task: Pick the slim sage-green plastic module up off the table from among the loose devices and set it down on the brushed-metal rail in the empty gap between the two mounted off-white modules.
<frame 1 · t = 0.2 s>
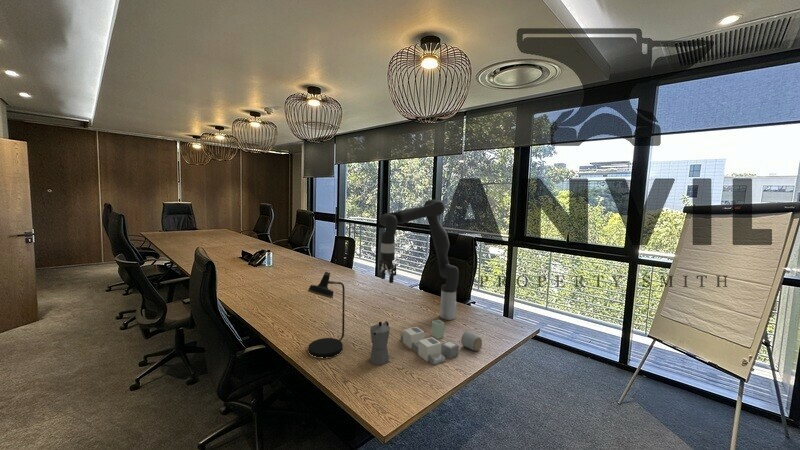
hand: (387, 280, 169), 29 cm above the table, fingers open, 8 cm apart
coffeepot: (380, 359, 144), on the table
module: (437, 336, 169), on the table
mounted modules: (421, 349, 153), resting on rail
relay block: (449, 354, 150), on the table
rail: (421, 349, 153), on the table
ceramic mug: (472, 347, 158), on the table
lamp: (328, 349, 152), on the table
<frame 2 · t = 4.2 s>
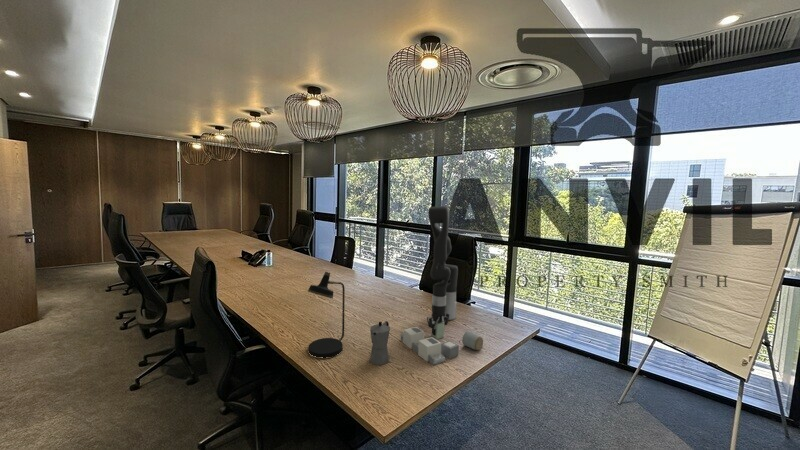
hand: (437, 333, 169), 1 cm above the table, fingers closed on module, 4 cm apart
module: (437, 336, 169), on the table, touching gripper
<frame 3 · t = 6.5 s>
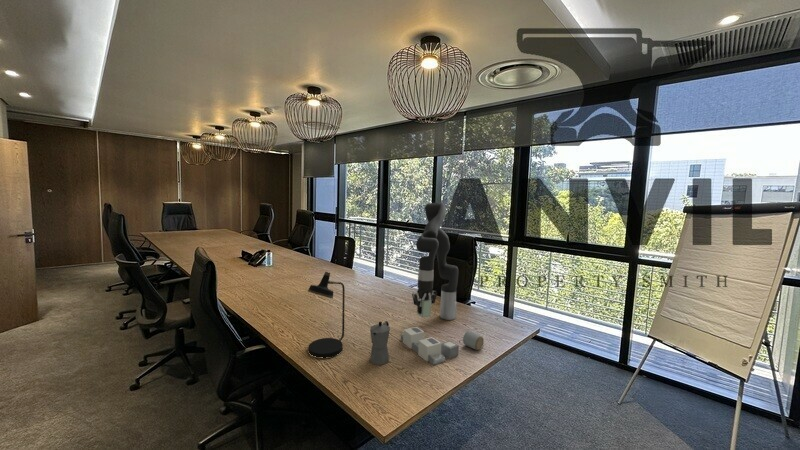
hand: (423, 312, 153), 18 cm above the table, fingers closed on module, 4 cm apart
module: (423, 315, 153), point 17 cm above the table, touching gripper
when the fingers open (5 cm above the table, at t = 8.9 s): module drops 1 cm, resting on rail.
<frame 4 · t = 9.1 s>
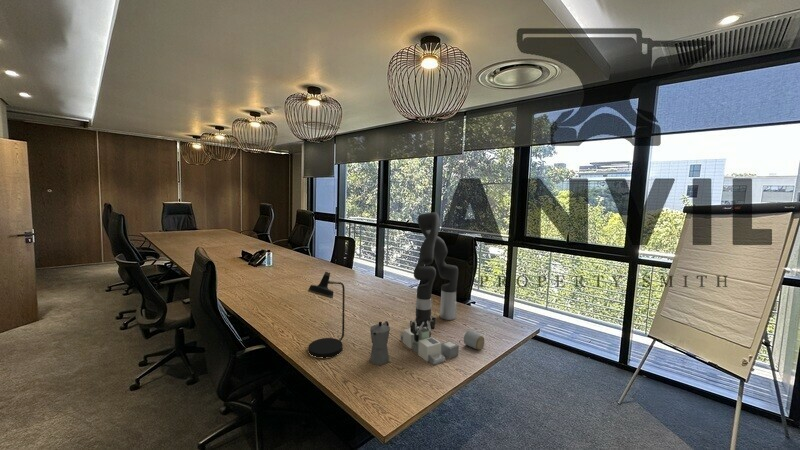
hand: (422, 339, 153), 5 cm above the table, fingers open, 6 cm apart
module: (422, 345, 154), point 2 cm above the table, touching rail
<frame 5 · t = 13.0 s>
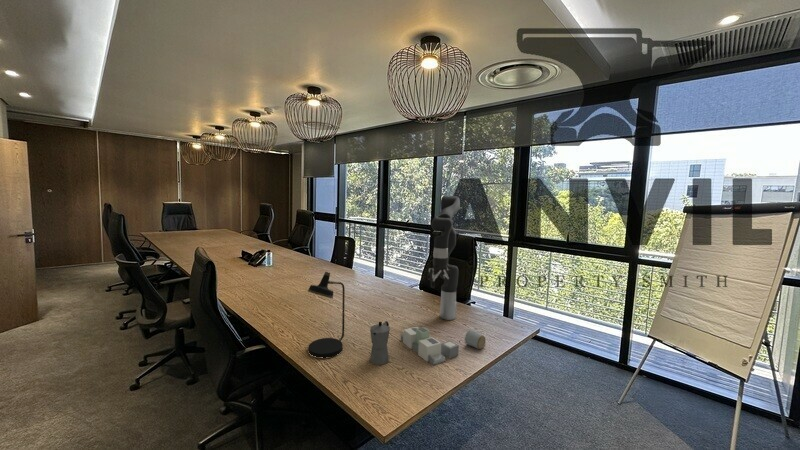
hand: (439, 286, 163), 28 cm above the table, fingers open, 8 cm apart
at the end: module 0.1 cm from the target spot, point 2.0 cm above the table; module tilted 0°; the gripper is holding nothing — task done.
